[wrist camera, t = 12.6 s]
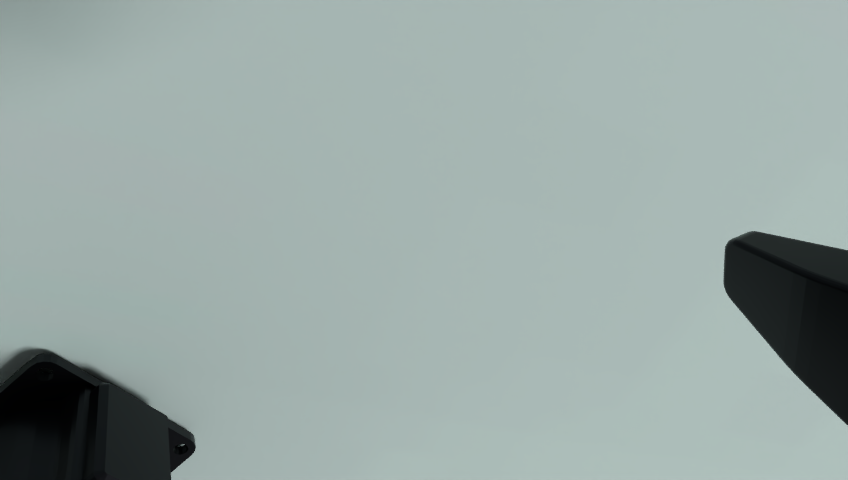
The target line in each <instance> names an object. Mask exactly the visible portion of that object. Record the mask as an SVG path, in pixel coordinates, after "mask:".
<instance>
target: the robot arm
mask: <svg viewBox="0 0 848 480" xmlns="http://www.w3.org/2000/svg"><path fill="white" fill-rule="evenodd" d="M724 287H725V290H726V293H727V294H728V296H729V298H730V299H731V300H732V301H733V303H734V304H735V305H736V306H737V307H738V308H739V310H740V311H741V312H742V313H743V314H744V316H745V317H746V318H747V319H748V320H749V321H750V323H751V324H752V325H753V326H754V327H755V329H756V330H757V331H758V332H759V333H760V334H761V336H762V337H763V338H764V339H765V340H766V342H767V343H768V344H769V345H770V346H771V347H772V349H773V350H774V351H775V352H776V353H777V355H778V356H779V357H780V358H781V359H782V360H783V362H784V363H785V364H786V365H787V366H788V367H789V368H790V369H791V370H792V371H793V373H794V374H795V375H796V376H797V377H798V378H799V379H800V380H801V381H802V382H803V383H804V384H805V385H806V386H807V387H808V388H809V389H810V390H811V391H812V392H813V393H815V394H816V395H817V396H818V397H819V398H820V399H821V400H822V401H823V402H824V403H825V404H826V405H827V406H828V407H829V408H830V409H831V410H832V411H833V412H834V413H835V414H836V415H837V416H838V417H839V418H840V419H841V420H843V421H844V422H845V423H846V424H847V425H848V250H844V249H839V248H834V247H829V246H824V245H819V244H815V243H810V242H805V241H800V240H795V239H791V238H786V237H781V236H776V235H771V234H766V233H762V232H756V231H751V232H747V233H745V234H743V235H740V236H738V237H736V238H733V239H731V240H730V241H728V243H727V245H726V246H725V259H724ZM41 368H49V369H51V370H52V372H50V373H43V372H40V371H39V369H41ZM178 444H185V445H184V446H180V447H177V445H178ZM195 448H196V446H195V438H194V435H193V434H192V433H191V432H189V431H187V430H185V429H184V428H182V427H180V426H178V425H177V424H175V423H173V422H171V421H170V420H168V418H167V416H166V415H164V414H163V413H161V412H159V411H157V410H156V409H154V408H152V407H151V406H149V405H147V404H145V403H144V402H142V401H140V400H138V399H137V398H135V397H133V396H132V395H130V394H128V393H126V392H125V391H123V390H121V389H119V388H118V387H116V386H114V385H113V384H110V383H104V382H102V381H100V380H98V379H97V378H95V377H93V376H92V375H90V374H88V373H86V372H85V371H83V370H81V369H79V368H78V367H76V366H74V365H72V364H71V363H69V362H67V361H65V360H64V359H62V358H60V357H58V356H56V355H53V354H40V355H37V356H35V357H34V358H32V359H31V360H30V361H29V362H27V363H26V364H25V365H24V366H23V367H22V368H21V369H19V370H18V371H17V372H16V373H15V374H14V375H13V376H11V377H10V378H9V379H8V380H7V381H6V382H5V383H4V384H2V385H1V386H0V480H171V472H172V471H173V470H175V469H176V468H177V467H178V466H179V465H180V464H182V463H183V462H184V461H185V460H186V459H187V458H189V457H190V456H191V455H192V454H193V453H194V451H195Z"/></svg>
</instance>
